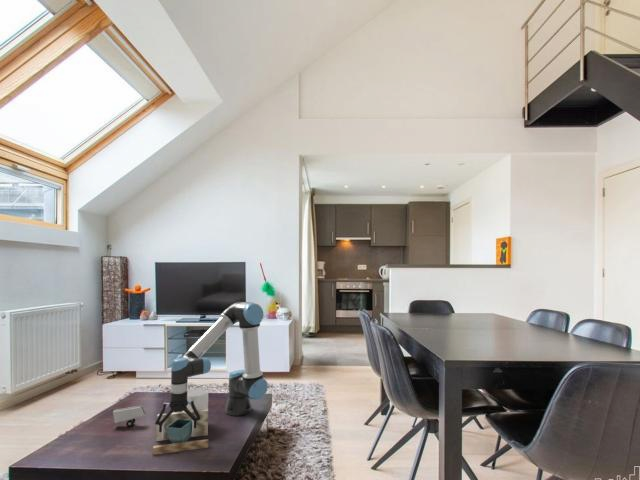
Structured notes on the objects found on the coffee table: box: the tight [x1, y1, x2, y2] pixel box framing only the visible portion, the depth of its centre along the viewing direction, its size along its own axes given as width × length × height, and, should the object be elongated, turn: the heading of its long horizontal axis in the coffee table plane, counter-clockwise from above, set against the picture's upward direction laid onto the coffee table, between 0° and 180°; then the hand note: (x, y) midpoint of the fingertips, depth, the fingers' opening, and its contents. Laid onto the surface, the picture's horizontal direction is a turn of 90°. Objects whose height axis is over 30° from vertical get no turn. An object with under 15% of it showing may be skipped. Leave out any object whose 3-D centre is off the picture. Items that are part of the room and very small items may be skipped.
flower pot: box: [166, 419, 192, 444], centre depth 182 cm, size 9×9×9 cm
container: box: [182, 387, 209, 412], centre depth 202 cm, size 14×14×18 cm
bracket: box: [112, 405, 147, 428], centre depth 202 cm, size 4×10×15 cm
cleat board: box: [152, 408, 209, 456], centre depth 183 cm, size 24×16×12 cm, turn 107°
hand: (177, 436), depth 182 cm, fingers open, 13 cm apart
